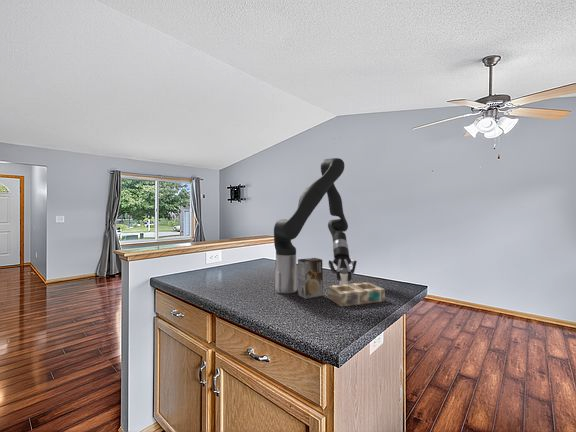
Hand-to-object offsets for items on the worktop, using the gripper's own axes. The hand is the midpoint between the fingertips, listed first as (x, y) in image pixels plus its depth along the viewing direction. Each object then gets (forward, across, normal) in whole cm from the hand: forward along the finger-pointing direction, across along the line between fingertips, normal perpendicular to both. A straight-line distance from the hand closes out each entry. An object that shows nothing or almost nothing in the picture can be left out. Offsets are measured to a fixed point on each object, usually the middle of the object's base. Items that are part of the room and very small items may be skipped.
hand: (344, 280), depth 133 cm
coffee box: (+9, -16, -1) cm, 18 cm away
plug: (+2, 0, +5) cm, 5 cm away
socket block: (+12, +3, -5) cm, 13 cm away
